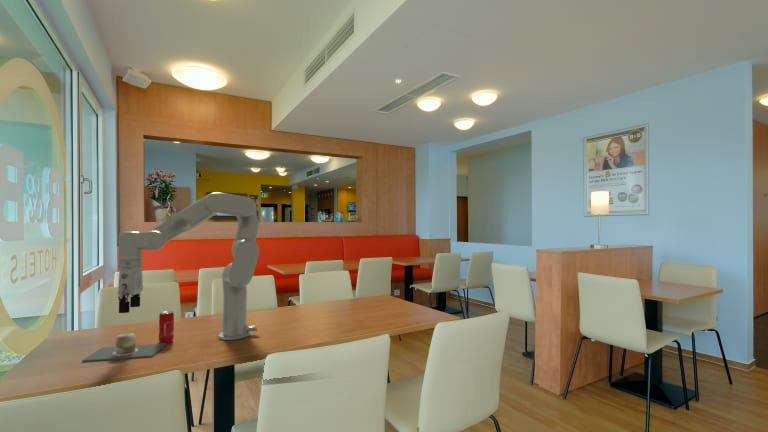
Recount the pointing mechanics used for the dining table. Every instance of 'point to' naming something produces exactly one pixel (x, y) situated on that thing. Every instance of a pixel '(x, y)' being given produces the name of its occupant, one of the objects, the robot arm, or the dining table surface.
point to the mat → (110, 354)
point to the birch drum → (125, 343)
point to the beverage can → (166, 327)
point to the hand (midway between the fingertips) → (129, 309)
